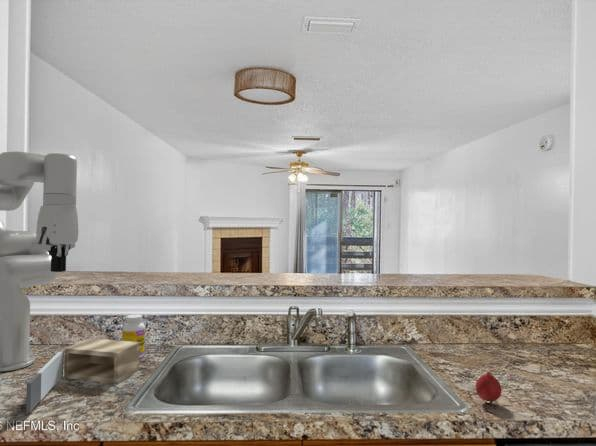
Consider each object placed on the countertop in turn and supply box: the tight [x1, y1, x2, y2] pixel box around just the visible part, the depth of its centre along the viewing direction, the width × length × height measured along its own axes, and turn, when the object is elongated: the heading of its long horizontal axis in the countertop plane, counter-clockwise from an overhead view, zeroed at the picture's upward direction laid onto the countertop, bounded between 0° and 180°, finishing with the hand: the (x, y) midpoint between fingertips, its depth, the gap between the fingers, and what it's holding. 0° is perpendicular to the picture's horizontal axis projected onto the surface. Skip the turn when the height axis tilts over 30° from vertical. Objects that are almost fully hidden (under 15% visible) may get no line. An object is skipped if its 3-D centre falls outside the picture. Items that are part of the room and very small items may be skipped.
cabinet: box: [63, 337, 140, 384], centre depth 115 cm, size 16×10×8 cm, turn 80°
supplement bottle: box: [121, 313, 146, 359], centre depth 130 cm, size 7×7×13 cm
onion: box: [475, 371, 502, 403], centre depth 102 cm, size 6×6×8 cm
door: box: [25, 350, 65, 414], centre depth 101 cm, size 23×1×6 cm, turn 14°
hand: (58, 271), depth 109 cm, fingers closed
